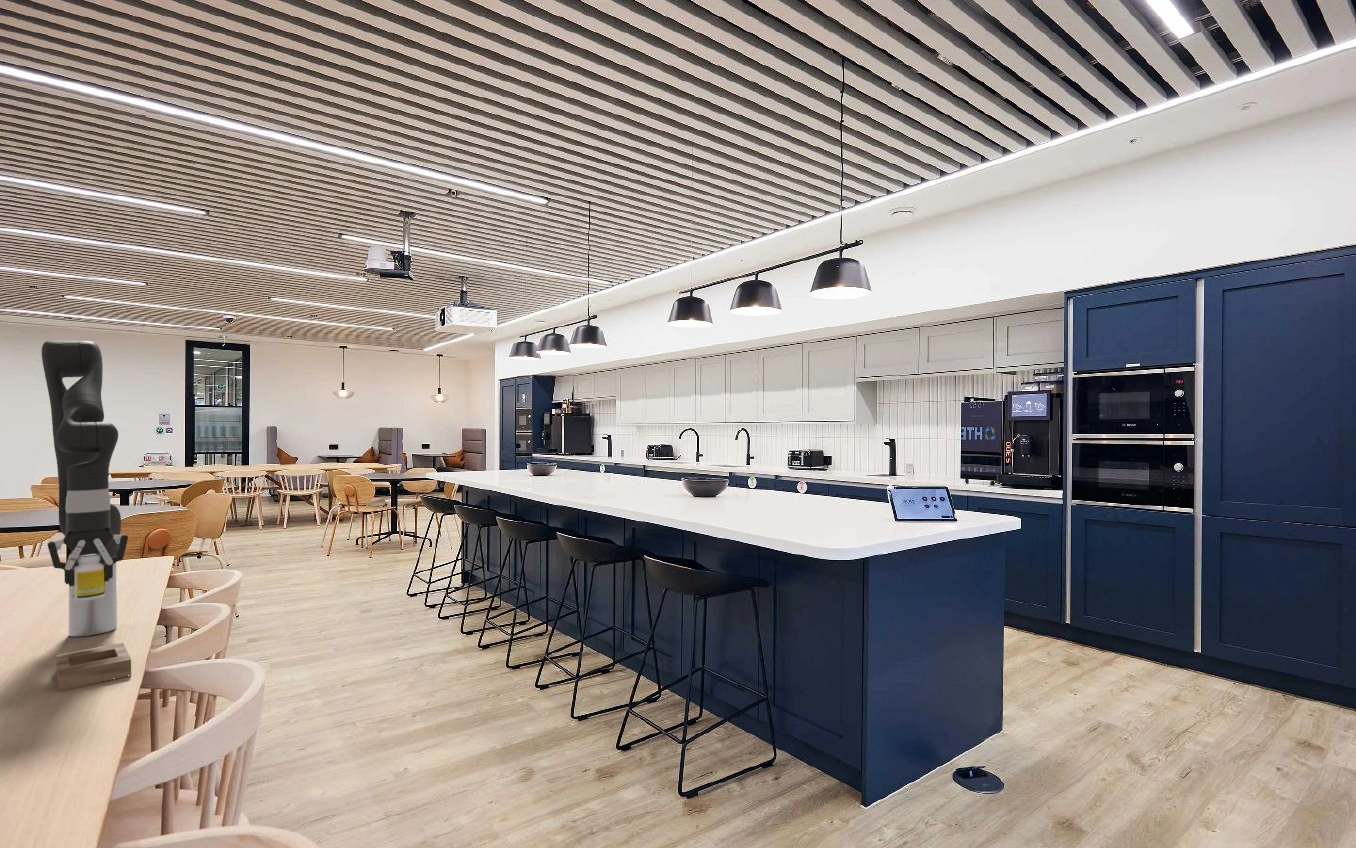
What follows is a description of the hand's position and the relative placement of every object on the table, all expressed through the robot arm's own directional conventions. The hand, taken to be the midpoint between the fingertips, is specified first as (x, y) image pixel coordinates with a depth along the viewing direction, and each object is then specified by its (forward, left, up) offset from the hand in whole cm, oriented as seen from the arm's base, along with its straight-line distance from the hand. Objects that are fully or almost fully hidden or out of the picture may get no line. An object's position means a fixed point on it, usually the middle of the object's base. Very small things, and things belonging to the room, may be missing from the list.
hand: (89, 583), depth 148 cm
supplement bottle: (0, 0, -4) cm, 4 cm away
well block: (+12, +7, -17) cm, 22 cm away
